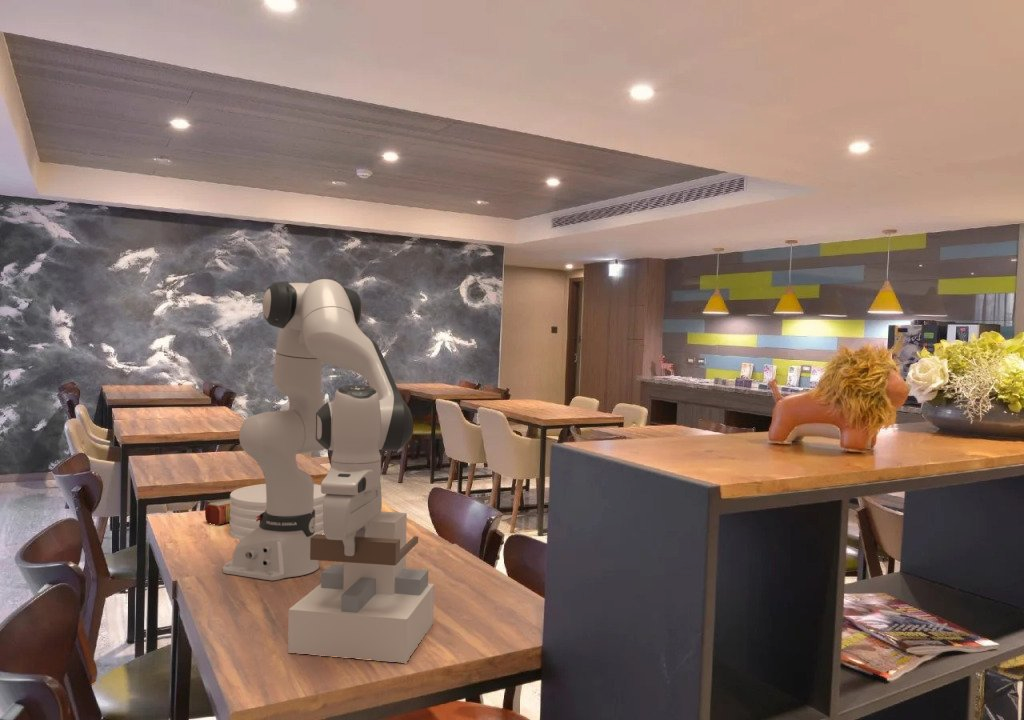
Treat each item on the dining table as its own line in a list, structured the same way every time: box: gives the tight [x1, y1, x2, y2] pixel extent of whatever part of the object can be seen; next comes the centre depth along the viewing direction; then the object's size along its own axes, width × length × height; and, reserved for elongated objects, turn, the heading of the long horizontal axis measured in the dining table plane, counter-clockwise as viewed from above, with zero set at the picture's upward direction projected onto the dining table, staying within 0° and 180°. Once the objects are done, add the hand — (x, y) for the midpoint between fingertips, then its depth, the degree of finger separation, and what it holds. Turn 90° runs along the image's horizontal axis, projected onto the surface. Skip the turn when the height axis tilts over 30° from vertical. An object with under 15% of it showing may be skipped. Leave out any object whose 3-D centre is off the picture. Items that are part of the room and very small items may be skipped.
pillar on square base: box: [287, 510, 435, 663], centre depth 139 cm, size 22×19×22 cm
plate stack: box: [229, 483, 326, 541], centre depth 215 cm, size 28×28×12 cm
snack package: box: [204, 499, 231, 526], centre depth 227 cm, size 21×7×7 cm, turn 152°
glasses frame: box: [310, 534, 419, 565], centre depth 139 cm, size 16×15×4 cm
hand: (354, 551), depth 133 cm, fingers closed on glasses frame, 3 cm apart
